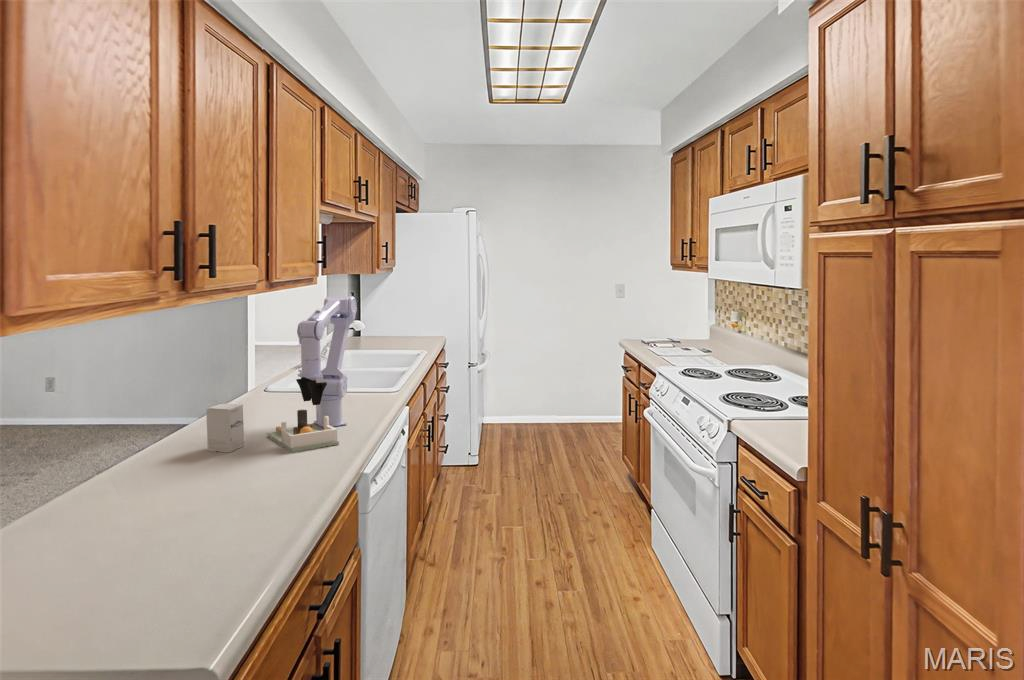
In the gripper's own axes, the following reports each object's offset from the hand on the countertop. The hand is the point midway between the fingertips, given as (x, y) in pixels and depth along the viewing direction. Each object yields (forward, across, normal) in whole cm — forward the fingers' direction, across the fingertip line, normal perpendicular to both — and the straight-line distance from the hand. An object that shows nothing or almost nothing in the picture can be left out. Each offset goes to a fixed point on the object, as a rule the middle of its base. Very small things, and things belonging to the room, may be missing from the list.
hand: (311, 402), depth 212 cm
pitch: (+10, +2, -4) cm, 12 cm away
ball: (+8, +7, -4) cm, 11 cm away
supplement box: (+11, -1, -25) cm, 28 cm away
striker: (+9, +4, -4) cm, 11 cm away
